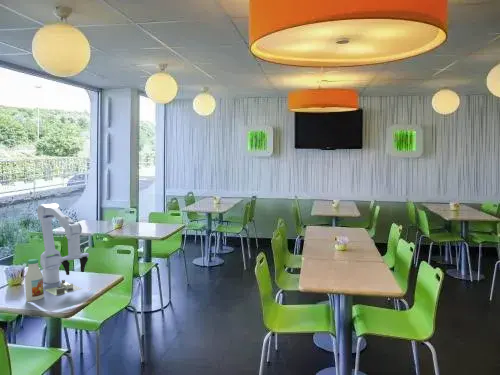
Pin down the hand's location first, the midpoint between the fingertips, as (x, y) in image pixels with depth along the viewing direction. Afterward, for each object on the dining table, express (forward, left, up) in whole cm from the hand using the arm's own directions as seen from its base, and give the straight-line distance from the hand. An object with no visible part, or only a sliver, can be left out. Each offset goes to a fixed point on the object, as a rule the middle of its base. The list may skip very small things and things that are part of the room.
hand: (75, 273), depth 223 cm
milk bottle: (-2, -19, -10) cm, 22 cm away
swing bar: (-5, -2, -8) cm, 10 cm away
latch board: (-5, -4, -10) cm, 12 cm away
